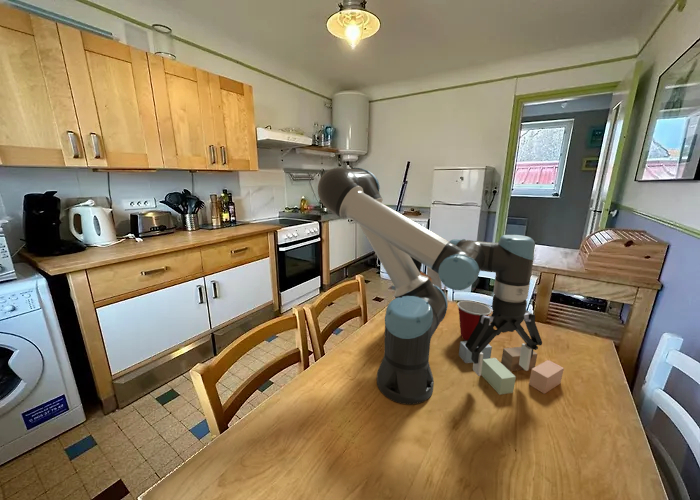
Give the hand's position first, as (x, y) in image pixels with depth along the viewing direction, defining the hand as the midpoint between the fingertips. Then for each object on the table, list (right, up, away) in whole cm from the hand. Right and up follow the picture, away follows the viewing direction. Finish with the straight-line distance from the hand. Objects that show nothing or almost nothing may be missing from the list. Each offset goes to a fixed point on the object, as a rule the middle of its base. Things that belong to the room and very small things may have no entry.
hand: (500, 370), depth 76 cm
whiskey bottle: (-17, +3, +30) cm, 35 cm away
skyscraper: (-6, +6, +42) cm, 43 cm away
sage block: (0, -4, +1) cm, 4 cm away
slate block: (-2, -1, +12) cm, 12 cm away
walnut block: (+10, -2, +9) cm, 13 cm away
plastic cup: (+2, +1, +23) cm, 23 cm away
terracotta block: (+13, -4, +1) cm, 13 cm away
